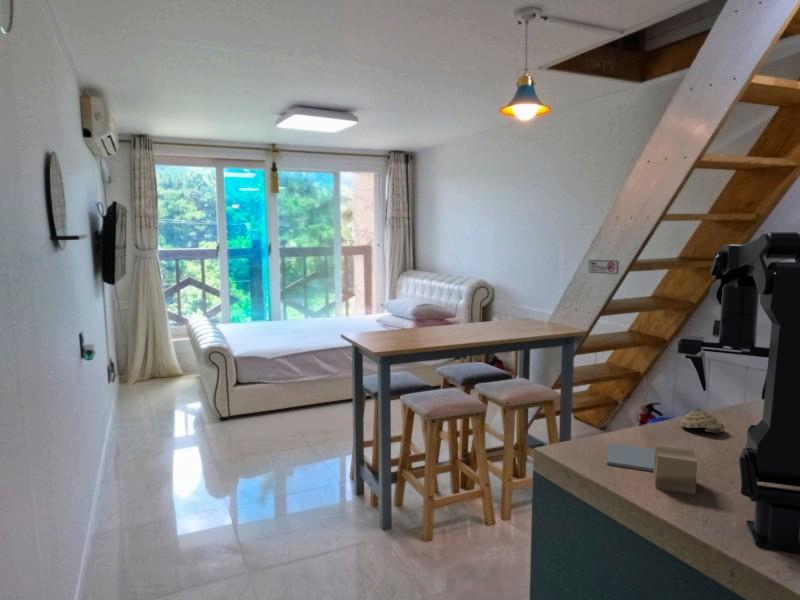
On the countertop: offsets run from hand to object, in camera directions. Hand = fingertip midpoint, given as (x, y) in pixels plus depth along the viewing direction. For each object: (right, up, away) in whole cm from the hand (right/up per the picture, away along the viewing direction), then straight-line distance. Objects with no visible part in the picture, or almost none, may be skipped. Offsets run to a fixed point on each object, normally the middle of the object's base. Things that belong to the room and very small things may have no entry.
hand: (733, 394), depth 98 cm
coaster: (-16, -14, +5) cm, 22 cm away
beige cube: (-14, -15, -5) cm, 21 cm away
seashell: (+9, -12, +17) cm, 23 cm away
